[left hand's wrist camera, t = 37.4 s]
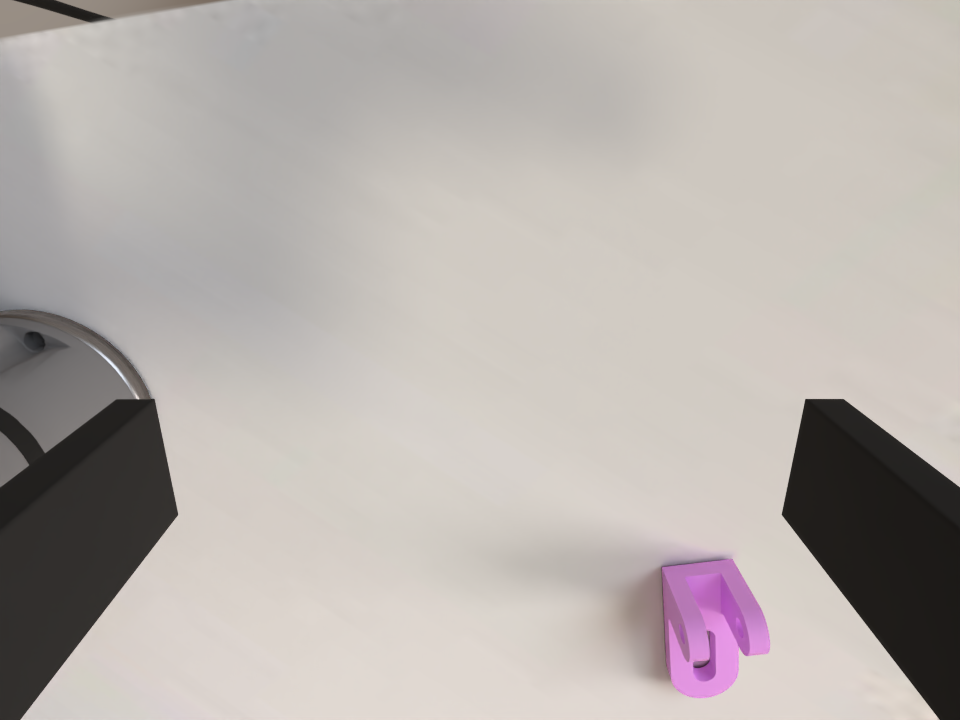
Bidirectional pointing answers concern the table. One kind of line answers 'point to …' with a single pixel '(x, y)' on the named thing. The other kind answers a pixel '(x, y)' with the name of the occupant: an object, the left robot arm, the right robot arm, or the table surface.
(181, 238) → the table surface
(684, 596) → the bracket
